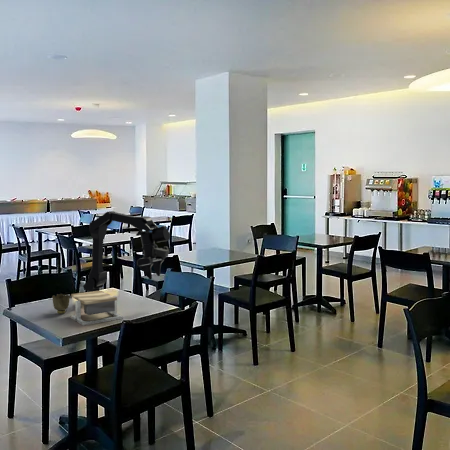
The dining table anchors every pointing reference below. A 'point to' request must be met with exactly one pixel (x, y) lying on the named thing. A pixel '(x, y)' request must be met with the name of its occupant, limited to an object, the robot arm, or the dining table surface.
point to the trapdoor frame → (78, 319)
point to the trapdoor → (96, 302)
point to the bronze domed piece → (61, 302)
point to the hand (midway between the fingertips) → (154, 277)
